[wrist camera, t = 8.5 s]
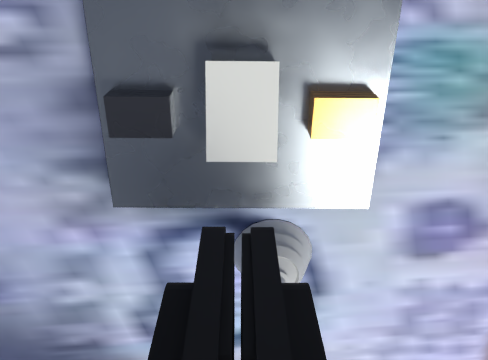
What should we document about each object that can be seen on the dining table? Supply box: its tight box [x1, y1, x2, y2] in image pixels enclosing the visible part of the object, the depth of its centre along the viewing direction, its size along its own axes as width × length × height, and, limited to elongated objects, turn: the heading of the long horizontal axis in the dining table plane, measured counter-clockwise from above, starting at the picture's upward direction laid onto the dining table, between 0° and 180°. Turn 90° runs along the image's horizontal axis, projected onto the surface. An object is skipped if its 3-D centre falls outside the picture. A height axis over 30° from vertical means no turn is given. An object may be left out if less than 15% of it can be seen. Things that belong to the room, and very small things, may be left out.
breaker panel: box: [83, 0, 402, 209], centre depth 21 cm, size 11×14×3 cm
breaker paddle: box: [205, 61, 279, 162], centre depth 19 cm, size 4×3×1 cm
